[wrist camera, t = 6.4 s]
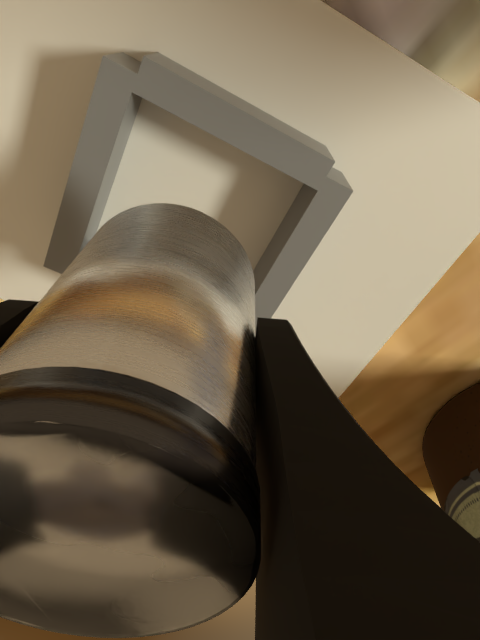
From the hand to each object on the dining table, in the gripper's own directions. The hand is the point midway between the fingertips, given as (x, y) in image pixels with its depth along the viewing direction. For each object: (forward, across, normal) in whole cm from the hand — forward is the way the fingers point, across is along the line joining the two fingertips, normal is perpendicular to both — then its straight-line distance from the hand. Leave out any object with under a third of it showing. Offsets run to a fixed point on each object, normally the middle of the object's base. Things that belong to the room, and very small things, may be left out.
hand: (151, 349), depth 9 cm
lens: (+2, 0, 0) cm, 3 cm away
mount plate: (+10, 0, 0) cm, 10 cm away
